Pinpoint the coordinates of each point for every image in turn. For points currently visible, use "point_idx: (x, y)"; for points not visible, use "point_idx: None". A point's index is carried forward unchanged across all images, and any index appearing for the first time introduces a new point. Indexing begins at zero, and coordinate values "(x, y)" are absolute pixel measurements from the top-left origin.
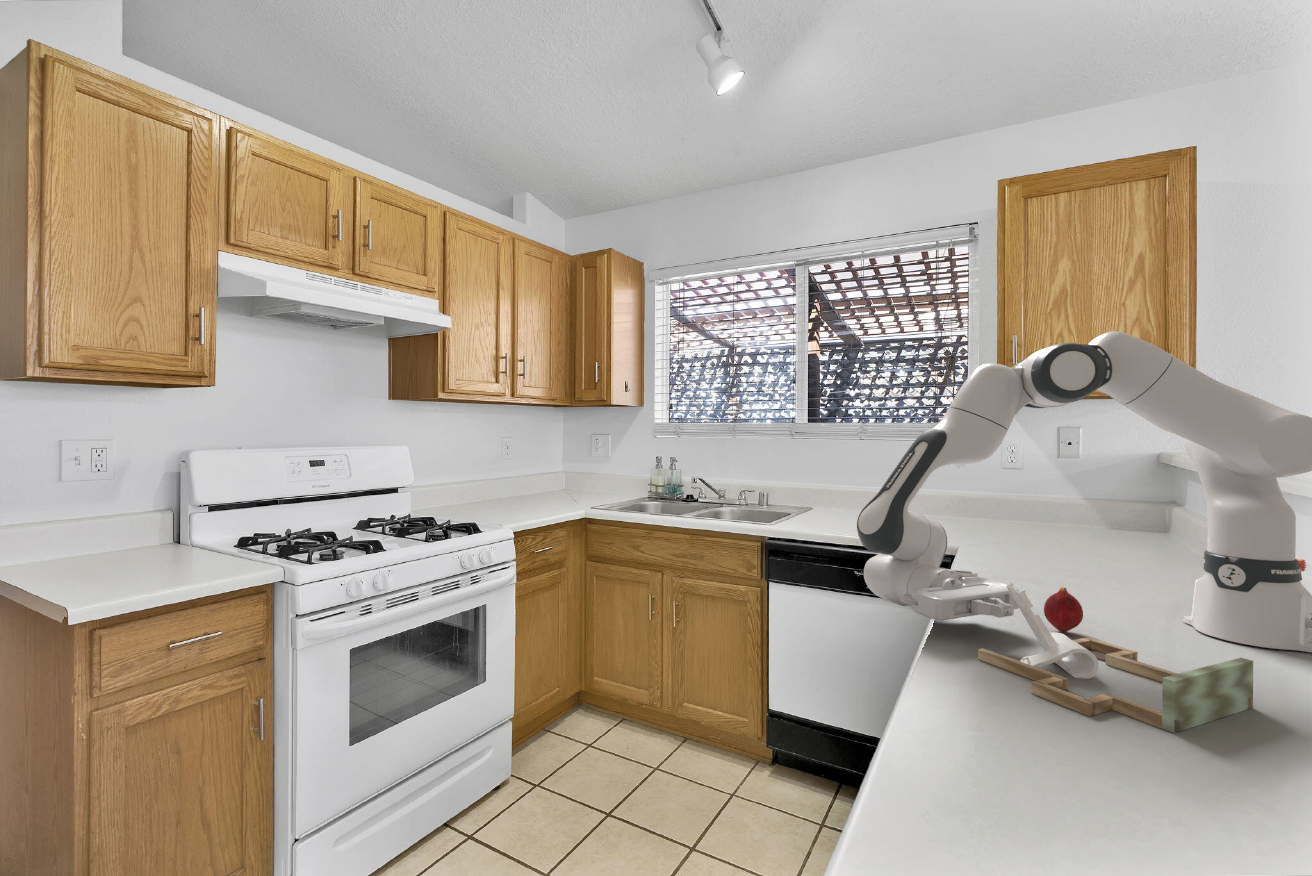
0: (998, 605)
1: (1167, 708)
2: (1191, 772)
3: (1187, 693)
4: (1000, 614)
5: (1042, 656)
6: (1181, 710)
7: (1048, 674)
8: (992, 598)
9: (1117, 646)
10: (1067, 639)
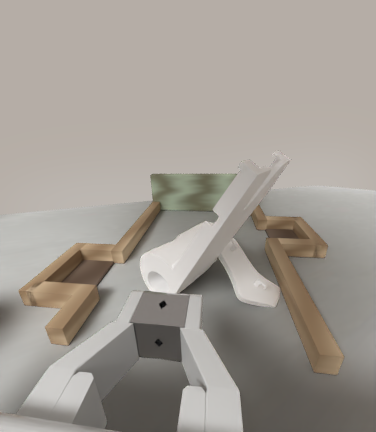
0: (186, 307)
1: None
2: (295, 199)
3: None
4: (202, 316)
5: (238, 265)
6: None
7: (282, 247)
8: (67, 393)
9: (61, 256)
10: (183, 238)
